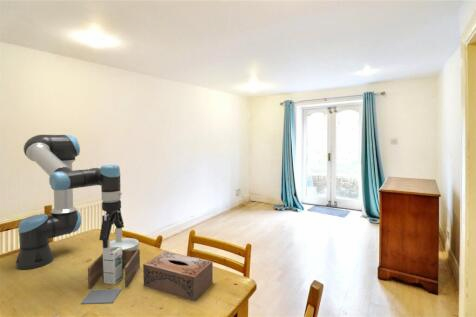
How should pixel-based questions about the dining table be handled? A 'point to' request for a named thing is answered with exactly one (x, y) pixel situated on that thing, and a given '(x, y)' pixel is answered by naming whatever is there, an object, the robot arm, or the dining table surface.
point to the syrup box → (113, 266)
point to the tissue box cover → (178, 275)
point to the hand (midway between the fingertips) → (113, 248)
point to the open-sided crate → (129, 263)
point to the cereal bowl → (126, 244)
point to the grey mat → (101, 296)
